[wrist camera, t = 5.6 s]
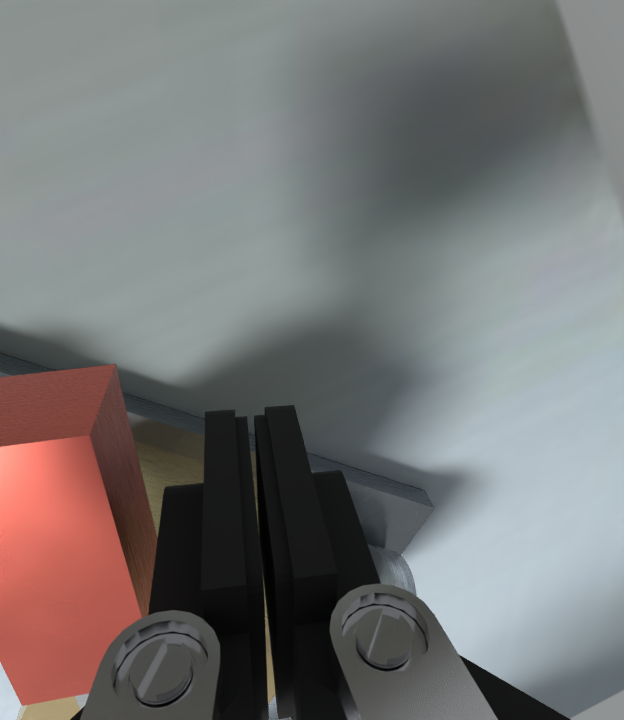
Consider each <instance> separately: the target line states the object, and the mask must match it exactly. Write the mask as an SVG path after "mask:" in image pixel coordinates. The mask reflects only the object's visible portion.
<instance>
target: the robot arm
mask: <svg viewBox="0 0 624 720" xmlns="http://www.w3.org/2000/svg"><path fill="white" fill-rule="evenodd" d="M254 427H255V453H256V478H257V503H258V521H257V511H256V501H255V492H254V482H253V472H252V463H251V453H250V443H249V434H248V424H247V416H245V417H235V410H223V411H209V412H205V444H204V482H203V483H197V484H187V485H176V486H166V487H165V489H164V493H163V500H162V508H161V516H160V524H159V532H158V539H157V547H156V555H155V563H154V571H153V579H152V587H151V595H150V603H149V611H148V616H146V617H143V618H141V619H138V620H137V621H136V622H134V623H133V624H131V625H130V626H128V627H127V628H125V629H124V630H123V631H122V632H121V633H120V634H119V635H118V636H117V637H116V638H115V639H114V641H113V642H112V643H111V644H110V645H109V647H108V649H107V651H106V653H105V655H104V656H103V658H102V660H101V662H100V665H99V668H98V671H97V673H96V676H95V679H94V682H93V684H92V687H91V690H90V693H89V696H88V698H87V701H86V704H85V706H84V707H83V708H82V709H81V710H80V711H79V712H78V713H76V714H75V715H74V716H73V717H72V718H71V719H70V720H269V715H268V687H267V659H266V630H265V602H264V589H265V598H266V608H267V618H268V627H269V637H270V646H271V656H272V665H273V675H274V684H275V694H276V704H277V713H278V719H282V718H288V717H291V718H292V720H570V719H568V718H567V717H565V716H563V715H562V714H560V713H558V712H556V711H555V710H553V709H551V708H550V707H548V706H546V705H544V704H543V703H541V702H539V701H537V700H536V699H534V698H532V697H531V696H529V695H527V694H525V693H524V692H522V691H520V690H519V689H517V688H515V687H513V686H512V685H510V684H508V683H507V682H505V681H503V680H501V679H500V678H498V677H496V676H495V675H493V674H491V673H489V672H488V671H486V670H484V669H482V668H481V667H479V666H477V665H476V664H474V663H472V662H470V661H469V660H467V659H465V658H464V657H462V656H460V655H458V653H457V651H456V650H455V648H454V646H453V645H452V643H451V641H450V640H449V638H448V636H447V635H446V633H445V631H444V630H443V628H442V627H441V625H440V623H439V622H438V620H437V618H436V617H435V615H434V614H433V613H432V611H431V610H430V609H429V608H428V606H427V605H426V604H425V603H424V602H423V601H422V600H421V599H419V598H418V597H416V596H415V595H414V594H412V593H411V592H409V591H407V590H404V589H402V588H399V587H397V586H393V585H386V584H381V582H380V579H379V576H378V573H377V570H376V567H375V564H374V561H373V558H372V556H371V553H370V550H369V547H368V544H367V541H366V538H365V535H364V532H363V529H362V527H361V524H360V521H359V518H358V515H357V512H356V509H355V506H354V503H353V500H352V498H351V495H350V492H349V489H348V486H347V483H346V480H345V477H344V475H343V473H342V471H340V470H334V471H324V472H313V473H312V472H311V468H310V464H309V461H308V457H307V453H306V449H305V445H304V441H303V438H302V434H301V430H300V426H299V422H298V419H297V415H296V411H295V407H294V405H289V406H276V407H265V415H257V416H254ZM258 527H259V530H258ZM263 579H264V583H263Z"/></svg>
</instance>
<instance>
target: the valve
mask: <svg viewBox="0 0 624 720" xmlns="http://www.w3.org/2000/svg"><path fill="white" fill-rule="evenodd" d="M51 371H53V370H50V369H47V368H44V367H41V366H38V365H35V364H32V363H29V362H26V361H23V360H20V359H16V358H13V357H10V356H7V355H4V354H1V353H0V377H7V376H16V375H25V374H34V373H42V372H51ZM123 397H124V402H125V406H126V410H127V414H128V418H129V422H130V426H131V430H132V434H133V439H134V443H135V447H136V451H137V455H138V459H139V463H140V467H141V472H142V476H143V480H144V484H145V488H146V492H147V496H148V500H149V504H150V509H151V513H152V517H153V521H154V525H155V529H156V533H157V537H158V532H159V524H160V516H161V508H162V500H163V493H164V489H165V487H166V486H176V485H187V484H197V483H203V482H204V444H205V420H204V419H201V418H198V417H195V416H192V415H189V414H186V413H183V412H180V411H177V410H174V409H171V408H167V407H164V406H161V405H158V404H155V403H152V402H149V401H146V400H143V399H140V398H137V397H134V396H130V395H127V394H124V393H123ZM249 443H250V453H251V463H252V472H253V482H254V492H255V501H256V511H257V521H258V503H257V478H256V453H255V436H254V435H251V434H249ZM307 457H308V461H309V464H310V468H311V472H312V473H313V472H324V471H334V470H340V471H342V473H343V475H344V477H345V480H346V483H347V486H348V489H349V492H350V495H351V498H352V500H353V503H354V506H355V509H356V512H357V515H358V518H359V521H360V524H361V527H362V529H363V532H364V535H365V538H366V541H367V544H368V547H369V550H370V553H371V556H372V558H373V561H374V564H375V567H376V570H377V573H378V576H379V579H380V582H381V584H386V585H393V586H397V587H399V588H402V589H404V590H407V591H409V592H411V593H412V594H414V595H415V596H416V589H415V583H414V579H413V576H412V573H411V570H410V568H409V566H408V564H407V563H406V561H405V560H404V558H403V557H402V556H401V554H402V552H403V551H404V550H405V548H406V547H407V545H408V544H409V543H410V541H411V540H412V538H413V537H414V536H415V534H416V533H417V531H418V530H419V529H420V527H421V526H422V524H423V523H424V522H425V520H426V519H427V518H428V516H429V515H430V513H431V512H432V511H433V509H434V506H433V505H432V503H431V501H430V499H429V497H428V495H427V493H426V492H425V491H423V490H420V489H417V488H414V487H411V486H408V485H405V484H402V483H399V482H396V481H392V480H389V479H386V478H383V477H380V476H377V475H374V474H371V473H368V472H365V471H362V470H359V469H355V468H352V467H349V466H346V465H343V464H340V463H337V462H334V461H331V460H328V459H325V458H322V457H318V456H315V455H312V454H309V453H307ZM258 530H259V527H258ZM263 583H264V579H263ZM264 602H265V630H266V659H267V687H268V705H269V703H270V702H271V700H272V699H273V697H274V696H275V684H274V675H273V665H272V656H271V646H270V637H269V627H268V618H267V608H266V598H265V589H264ZM79 711H80V708H79V706H78V703H77V701H76V698H75V696H73V697H68V698H62V699H57V700H52V701H46V702H41V703H36V704H30V705H25V706H22V704H21V707H20V710H19V713H18V717H17V720H70V719H71V718H72V717H73V716H74V715H75V714H76V713H78V712H79Z"/></svg>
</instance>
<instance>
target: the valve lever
mask: <svg viewBox="0 0 624 720" xmlns="http://www.w3.org/2000/svg"><path fill="white" fill-rule="evenodd" d="M157 539H158V537H157V533H156V529H155V525H154V521H153V517H152V513H151V509H150V504H149V500H148V496H147V492H146V488H145V484H144V480H143V476H142V472H141V467H140V463H139V459H138V455H137V451H136V447H135V443H134V439H133V434H132V430H131V426H130V422H129V418H128V414H127V410H126V406H125V402H124V397H123V393H122V389H121V385H120V381H119V377H118V373H117V369H116V364H113V365H104V366H95V367H86V368H78V369H69V370H60V371H51V372H42V373H34V374H25V375H16V376H7V377H0V662H1V664H2V666H3V668H4V670H5V672H6V674H7V676H8V678H9V680H10V682H11V684H12V686H13V688H14V690H15V692H16V694H17V696H18V698H19V700H20V702H21V704H22V706H25V705H30V704H36V703H41V702H46V701H52V700H57V699H62V698H68V697H73V696H75V698H76V701H77V703H78V706H79V708H80V710H81V709H82V708H83V707H84V706H85V704H86V701H87V698H88V696H89V693H90V690H91V687H92V684H93V682H94V679H95V676H96V673H97V671H98V668H99V665H100V662H101V660H102V658H103V656H104V655H105V653H106V651H107V649H108V647H109V645H110V644H111V643H112V642H113V641H114V639H115V638H116V637H117V636H118V635H119V634H120V633H121V632H122V631H123V630H124V629H125V628H127V627H128V626H130V625H131V624H133V623H134V622H136V621H137V620H138V619H141V618H143V617H146V616H148V611H149V603H150V595H151V587H152V579H153V571H154V563H155V555H156V547H157Z"/></svg>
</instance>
